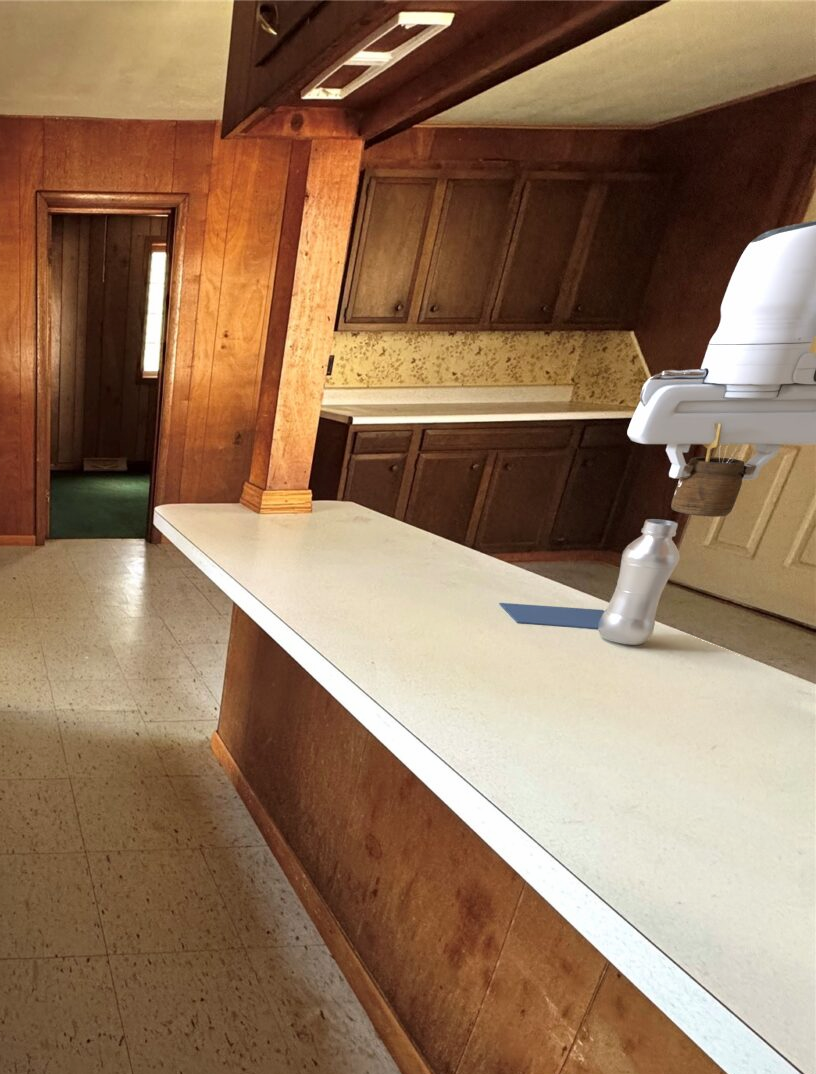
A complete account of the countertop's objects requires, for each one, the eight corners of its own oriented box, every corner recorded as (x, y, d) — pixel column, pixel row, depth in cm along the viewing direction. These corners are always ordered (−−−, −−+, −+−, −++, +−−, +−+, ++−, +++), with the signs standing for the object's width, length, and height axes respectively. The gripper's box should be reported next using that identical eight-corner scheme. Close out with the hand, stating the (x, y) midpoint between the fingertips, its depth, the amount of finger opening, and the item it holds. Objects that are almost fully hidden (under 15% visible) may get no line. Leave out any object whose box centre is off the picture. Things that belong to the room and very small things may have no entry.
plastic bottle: (584, 632, 111) (621, 516, 104) (629, 633, 110) (670, 516, 103) (611, 649, 105) (652, 527, 98) (659, 650, 104) (704, 528, 97)
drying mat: (602, 611, 119) (603, 609, 118) (628, 631, 111) (629, 630, 110) (499, 604, 123) (499, 602, 123) (517, 623, 115) (517, 621, 115)
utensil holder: (741, 514, 87) (776, 421, 83) (709, 519, 86) (743, 425, 81) (688, 504, 93) (718, 417, 88) (656, 509, 91) (686, 420, 87)
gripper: (662, 371, 83) (629, 481, 88) (878, 366, 77) (829, 484, 82) (634, 369, 88) (605, 472, 93) (834, 364, 82) (791, 474, 87)
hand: (711, 478), depth 87 cm, fingers closed on utensil holder, 5 cm apart
